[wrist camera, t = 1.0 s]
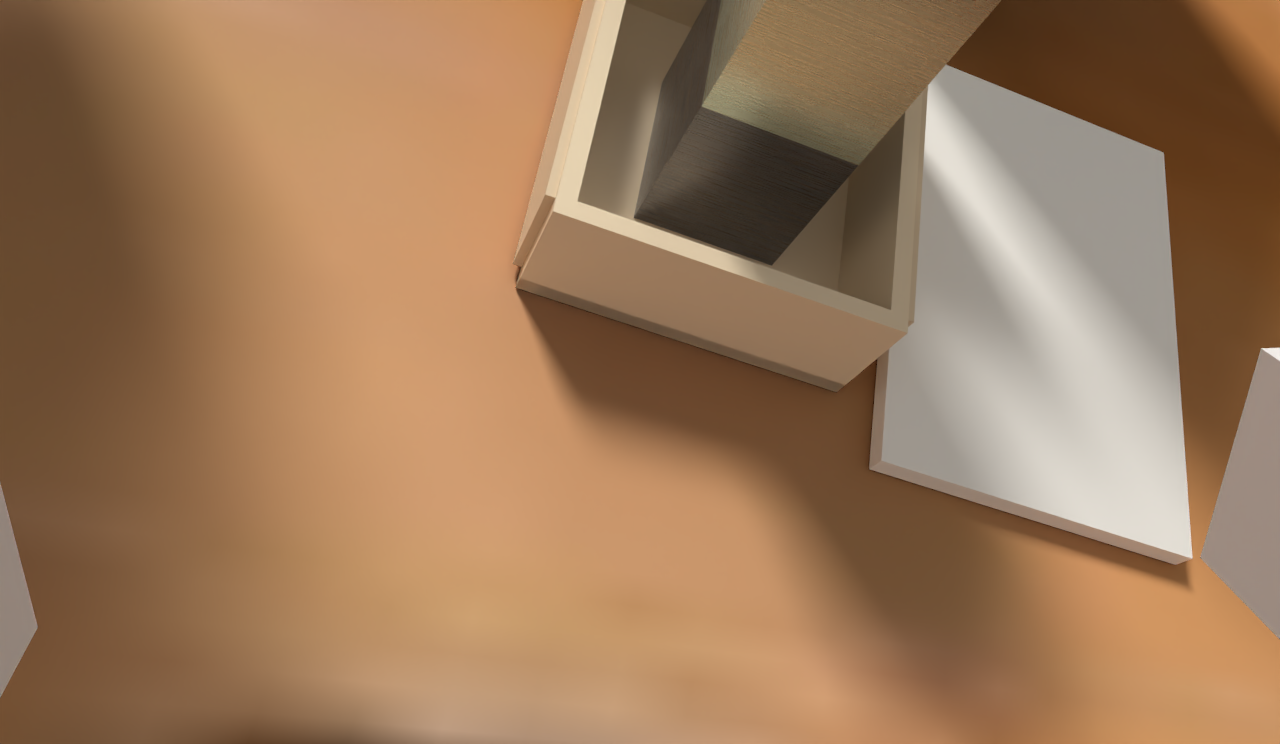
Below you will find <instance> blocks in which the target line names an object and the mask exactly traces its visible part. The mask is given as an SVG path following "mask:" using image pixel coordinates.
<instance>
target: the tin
mask: <svg viewBox="0 0 1280 744" xmlns="http://www.w3.org/2000/svg"><path fill="white" fill-rule="evenodd" d="M1000 2H1001V0H707V1H706V3H705V4H704V6H703V8H702V10H701V12H700V14H699V15H698V17H697V19H696V21H695V23H694V25H693V26H692V28H691V30H690V32H689V34H688V36H687V37H686V39H685V41H684V43H683V45H682V47H681V48H680V50H679V52H678V54H677V56H676V58H675V59H674V61H673V63H672V65H671V67H670V69H669V70H668V72H667V74H666V76H665V78H664V80H663V81H662V85H661V90H660V95H659V99H658V104H657V109H656V114H655V119H654V123H653V128H652V133H651V138H650V142H649V147H648V152H647V157H646V161H645V166H644V171H643V176H642V180H641V185H640V190H639V195H638V199H637V204H636V209H635V214H634V218H636V219H639V220H642V221H645V222H648V223H651V224H654V225H656V226H659V227H662V228H665V229H668V230H671V231H674V232H677V233H679V234H682V235H685V236H688V237H691V238H694V239H697V240H700V241H702V242H705V243H708V244H711V245H714V246H717V247H720V248H723V249H725V250H728V251H731V252H734V253H737V254H740V255H743V256H746V257H748V258H751V259H754V260H757V261H760V262H763V263H766V264H768V265H771V266H772V265H773V264H774V262H775V261H776V260H777V259H778V258H779V257H780V256H781V254H782V253H783V252H784V251H785V250H786V249H787V247H788V246H789V245H790V244H791V243H792V242H793V241H794V239H795V238H796V237H797V236H798V235H799V234H800V232H801V231H802V230H803V229H804V228H805V227H806V226H807V224H808V223H809V222H810V221H811V220H812V219H813V217H814V216H815V215H816V214H817V213H818V212H819V211H820V209H821V208H822V207H823V206H824V205H825V204H826V202H827V201H828V200H829V199H830V198H831V197H832V196H833V194H834V193H835V192H836V191H837V190H838V189H839V187H840V186H841V185H842V184H843V183H844V182H845V180H846V179H847V178H848V177H849V176H850V175H851V174H852V172H853V171H854V170H855V169H856V168H857V167H858V165H859V164H860V163H861V162H862V161H863V160H864V159H865V157H866V156H867V155H868V154H869V153H870V152H871V150H872V149H873V148H874V147H875V146H876V145H877V144H878V142H879V141H880V140H881V139H882V138H883V137H884V135H885V134H886V133H887V132H888V131H889V130H890V129H891V127H892V126H893V125H894V124H895V123H896V122H897V120H898V119H899V118H900V117H901V116H902V115H903V114H904V112H905V111H906V110H907V109H908V108H909V107H910V105H911V104H912V103H913V102H914V101H915V100H916V99H917V97H918V96H919V95H920V94H921V93H922V92H923V90H924V89H925V88H926V87H927V86H928V85H929V84H930V82H931V81H932V80H933V79H934V78H935V77H936V75H937V74H938V73H939V72H940V71H941V70H942V69H943V67H944V66H945V65H946V64H947V63H948V62H949V60H950V59H951V58H952V57H953V56H954V55H955V54H956V52H957V51H958V50H959V49H960V48H961V47H962V45H963V44H964V43H965V42H966V41H967V40H968V38H969V37H970V36H971V35H972V34H973V33H974V32H975V30H976V29H977V28H978V27H979V26H980V25H981V23H982V22H983V21H984V20H985V19H986V18H987V17H988V15H989V14H990V13H991V12H992V11H993V10H994V8H995V7H996V6H997V5H998V4H999V3H1000Z"/></svg>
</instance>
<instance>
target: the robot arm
mask: <svg viewBox="0 0 1280 744" xmlns="http://www.w3.org/2000/svg"><path fill="white" fill-rule="evenodd" d="M1200 558H1201V559H1202V560H1203V561H1204V562H1205V563H1206V564H1207V565H1208V566H1209V567H1210V568H1211V569H1212V570H1213V571H1214V572H1215V573H1216V574H1217V575H1218V576H1219V578H1220V579H1221V580H1222V581H1223V582H1224V583H1225V584H1226V585H1227V586H1228V587H1229V588H1230V589H1231V590H1232V591H1233V592H1234V593H1235V594H1236V595H1237V596H1238V597H1239V598H1240V599H1241V600H1242V601H1243V602H1244V603H1245V604H1246V605H1247V606H1248V607H1249V608H1250V609H1251V610H1252V611H1253V613H1254V614H1255V615H1256V616H1257V617H1258V618H1259V619H1260V620H1261V621H1262V622H1263V623H1264V624H1265V625H1266V626H1267V627H1268V628H1269V629H1270V630H1271V631H1272V632H1273V633H1274V634H1275V635H1276V636H1277V637H1278V638H1279V639H1280V348H1261V350H1260V354H1259V357H1258V361H1257V364H1256V368H1255V371H1254V374H1253V378H1252V381H1251V385H1250V388H1249V392H1248V395H1247V399H1246V402H1245V405H1244V409H1243V412H1242V416H1241V419H1240V423H1239V426H1238V429H1237V433H1236V436H1235V440H1234V443H1233V447H1232V450H1231V454H1230V457H1229V460H1228V464H1227V467H1226V471H1225V474H1224V478H1223V481H1222V484H1221V488H1220V491H1219V495H1218V498H1217V502H1216V505H1215V509H1214V512H1213V515H1212V519H1211V522H1210V526H1209V529H1208V533H1207V536H1206V539H1205V543H1204V546H1203V550H1202V553H1201V557H1200ZM37 628H38V626H37V622H36V618H35V614H34V610H33V606H32V602H31V599H30V595H29V591H28V587H27V583H26V579H25V575H24V572H23V568H22V564H21V560H20V556H19V552H18V548H17V545H16V541H15V537H14V533H13V529H12V525H11V521H10V518H9V514H8V510H7V506H6V502H5V498H4V494H3V491H2V487H1V483H0V697H1V695H2V693H3V692H4V690H5V688H6V686H7V684H8V682H9V680H10V678H11V677H12V675H13V673H14V671H15V669H16V667H17V665H18V664H19V662H20V660H21V658H22V656H23V654H24V652H25V650H26V649H27V647H28V645H29V643H30V641H31V639H32V637H33V635H34V634H35V632H36V630H37Z"/></svg>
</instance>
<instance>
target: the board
mask: <svg viewBox="0 0 1280 744" xmlns="http://www.w3.org/2000/svg"><path fill="white" fill-rule="evenodd" d="M869 469H870V470H873V471H877V472H880V473H883V474H886V475H889V476H893V477H896V478H899V479H902V480H905V481H909V482H912V483H915V484H918V485H921V486H925V487H928V488H931V489H934V490H937V491H941V492H944V493H947V494H950V495H953V496H957V497H960V498H963V499H966V500H969V501H973V502H976V503H979V504H982V505H985V506H989V507H992V508H995V509H998V510H1001V511H1005V512H1008V513H1011V514H1014V515H1017V516H1021V517H1024V518H1027V519H1030V520H1033V521H1037V522H1040V523H1043V524H1046V525H1049V526H1053V527H1056V528H1059V529H1062V530H1065V531H1069V532H1072V533H1075V534H1078V535H1081V536H1085V537H1088V538H1091V539H1094V540H1097V541H1101V542H1104V543H1107V544H1110V545H1113V546H1117V547H1120V548H1123V549H1126V550H1129V551H1133V552H1136V553H1139V554H1142V555H1145V556H1148V557H1152V558H1155V559H1158V560H1161V561H1164V562H1168V563H1171V564H1174V565H1177V564H1179V563H1182V562H1185V561H1188V560H1190V559H1192V545H1191V531H1190V517H1189V503H1188V489H1187V474H1186V460H1185V446H1184V432H1183V418H1182V403H1181V389H1180V375H1179V361H1178V347H1177V332H1176V318H1175V304H1174V290H1173V276H1172V261H1171V247H1170V233H1169V219H1168V204H1167V190H1166V176H1165V162H1164V152H1161V151H1159V150H1156V149H1154V148H1151V147H1149V146H1146V145H1144V144H1141V143H1139V142H1136V141H1134V140H1131V139H1129V138H1126V137H1124V136H1121V135H1119V134H1116V133H1114V132H1112V131H1109V130H1107V129H1104V128H1102V127H1099V126H1097V125H1094V124H1092V123H1089V122H1087V121H1084V120H1082V119H1079V118H1077V117H1074V116H1072V115H1069V114H1067V113H1065V112H1062V111H1060V110H1057V109H1055V108H1052V107H1050V106H1047V105H1045V104H1042V103H1040V102H1037V101H1035V100H1032V99H1030V98H1027V97H1025V96H1022V95H1020V94H1018V93H1015V92H1013V91H1010V90H1008V89H1005V88H1003V87H1000V86H998V85H995V84H993V83H990V82H988V81H985V80H983V79H980V78H978V77H975V76H973V75H971V74H968V73H966V72H963V71H961V70H958V69H956V68H953V67H951V66H948V65H945V66H944V67H943V69H942V70H941V71H940V72H939V73H938V74H937V75H936V77H935V78H934V79H933V80H932V81H931V82H930V84H929V85H928V96H927V113H926V129H925V146H924V163H923V179H922V196H921V213H920V230H919V246H918V263H917V280H916V296H915V313H914V323H913V324H911V325H910V326H909V327H908V333H907V334H906V335H905V336H904V337H902V338H901V339H900V340H899V341H898V342H896V343H895V344H894V345H893V346H892V347H890V348H889V349H888V350H887V351H886V352H884V353H883V354H882V355H881V356H880V357H878V358H877V371H876V384H875V397H874V410H873V423H872V436H871V449H870V462H869Z"/></svg>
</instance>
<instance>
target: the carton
mask: <svg viewBox="0 0 1280 744" xmlns="http://www.w3.org/2000/svg"><path fill="white" fill-rule="evenodd" d="M706 1H707V0H583V3H582V7H581V10H580V14H579V18H578V22H577V25H576V29H575V33H574V37H573V40H572V44H571V48H570V52H569V55H568V59H567V63H566V66H565V70H564V74H563V78H562V81H561V85H560V89H559V93H558V96H557V100H556V104H555V108H554V111H553V115H552V119H551V123H550V126H549V130H548V134H547V138H546V141H545V145H544V149H543V153H542V156H541V160H540V164H539V168H538V171H537V175H536V179H535V183H534V186H533V190H532V194H531V197H530V201H529V205H528V209H527V212H526V216H525V220H524V224H523V227H522V231H521V235H520V239H519V242H518V246H517V250H516V254H515V257H514V261H513V264H514V265H517V266H520V267H521V268H520V272H519V276H518V280H517V284H516V287H515V288H518V289H522V290H525V291H528V292H531V293H534V294H537V295H540V296H543V297H546V298H549V299H552V300H555V301H558V302H561V303H564V304H567V305H571V306H574V307H577V308H580V309H583V310H586V311H589V312H592V313H595V314H598V315H601V316H604V317H607V318H610V319H613V320H616V321H620V322H623V323H626V324H629V325H632V326H635V327H638V328H641V329H644V330H647V331H650V332H653V333H656V334H659V335H662V336H665V337H669V338H672V339H675V340H678V341H681V342H684V343H687V344H690V345H693V346H696V347H699V348H702V349H705V350H708V351H711V352H714V353H718V354H721V355H724V356H727V357H730V358H733V359H736V360H739V361H742V362H745V363H748V364H751V365H754V366H757V367H760V368H764V369H767V370H770V371H773V372H776V373H779V374H782V375H785V376H788V377H791V378H794V379H797V380H800V381H803V382H806V383H809V384H813V385H816V386H819V387H822V388H825V389H828V390H831V391H834V392H838V391H839V390H840V389H841V388H843V387H844V386H845V385H846V384H847V383H849V382H850V381H851V380H852V379H853V378H854V377H856V376H857V375H858V374H859V373H860V372H862V371H863V370H864V369H865V368H866V367H868V366H869V365H870V364H871V363H872V362H874V361H875V360H876V359H877V358H878V357H880V356H881V355H882V354H883V353H884V352H886V351H887V350H888V349H889V348H890V347H892V346H893V345H894V344H895V343H896V342H898V341H899V340H900V339H901V338H902V337H904V336H905V335H906V334H907V333H908V327H909V326H910V325H911V324H913V323H914V313H915V296H916V280H917V263H918V246H919V230H920V213H921V196H922V179H923V163H924V146H925V129H926V113H927V96H928V86H927V87H926V88H925V89H924V90H923V92H922V93H921V94H920V95H919V96H918V97H917V99H916V100H915V101H914V102H913V103H912V104H911V105H910V107H909V108H908V109H907V110H906V111H905V112H904V114H903V115H902V116H901V117H900V118H899V119H898V120H897V122H896V123H895V124H894V125H893V126H892V127H891V129H890V130H889V131H888V132H887V133H886V134H885V135H884V137H883V138H882V139H881V140H880V141H879V142H878V144H877V145H876V146H875V147H874V148H873V149H872V150H871V152H870V153H869V154H868V155H867V156H866V157H865V159H864V160H863V161H862V162H861V163H860V164H859V165H858V167H857V168H856V169H855V170H854V171H853V172H852V174H851V175H850V176H849V177H848V178H847V179H846V180H845V182H844V183H843V184H842V185H841V186H840V187H839V189H838V190H837V191H836V192H835V193H834V194H833V196H832V197H831V198H830V199H829V200H828V201H827V202H826V204H825V205H824V206H823V207H822V208H821V209H820V211H819V212H818V213H817V214H816V215H815V216H814V217H813V219H812V220H811V221H810V222H809V223H808V224H807V226H806V227H805V228H804V229H803V230H802V231H801V232H800V234H799V235H798V236H797V237H796V238H795V239H794V241H793V242H792V243H791V244H790V245H789V246H788V247H787V249H786V250H785V251H784V252H783V253H782V254H781V256H780V257H779V258H778V259H777V260H776V261H775V262H774V264H773V265H772V266H771V265H768V264H766V263H763V262H760V261H757V260H754V259H751V258H748V257H746V256H743V255H740V254H737V253H734V252H731V251H728V250H725V249H723V248H720V247H717V246H714V245H711V244H708V243H705V242H702V241H700V240H697V239H694V238H691V237H688V236H685V235H682V234H679V233H677V232H674V231H671V230H668V229H665V228H662V227H659V226H656V225H654V224H651V223H648V222H645V221H642V220H639V219H636V218H634V214H635V209H636V204H637V199H638V195H639V190H640V185H641V180H642V176H643V171H644V166H645V161H646V157H647V152H648V147H649V142H650V138H651V133H652V128H653V123H654V119H655V114H656V109H657V104H658V99H659V95H660V90H661V85H662V81H663V80H664V78H665V76H666V74H667V72H668V70H669V69H670V67H671V65H672V63H673V61H674V59H675V58H676V56H677V54H678V52H679V50H680V48H681V47H682V45H683V43H684V41H685V39H686V37H687V36H688V34H689V32H690V30H691V28H692V26H693V25H694V23H695V21H696V19H697V17H698V15H699V14H700V12H701V10H702V8H703V6H704V4H705V3H706Z"/></svg>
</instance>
